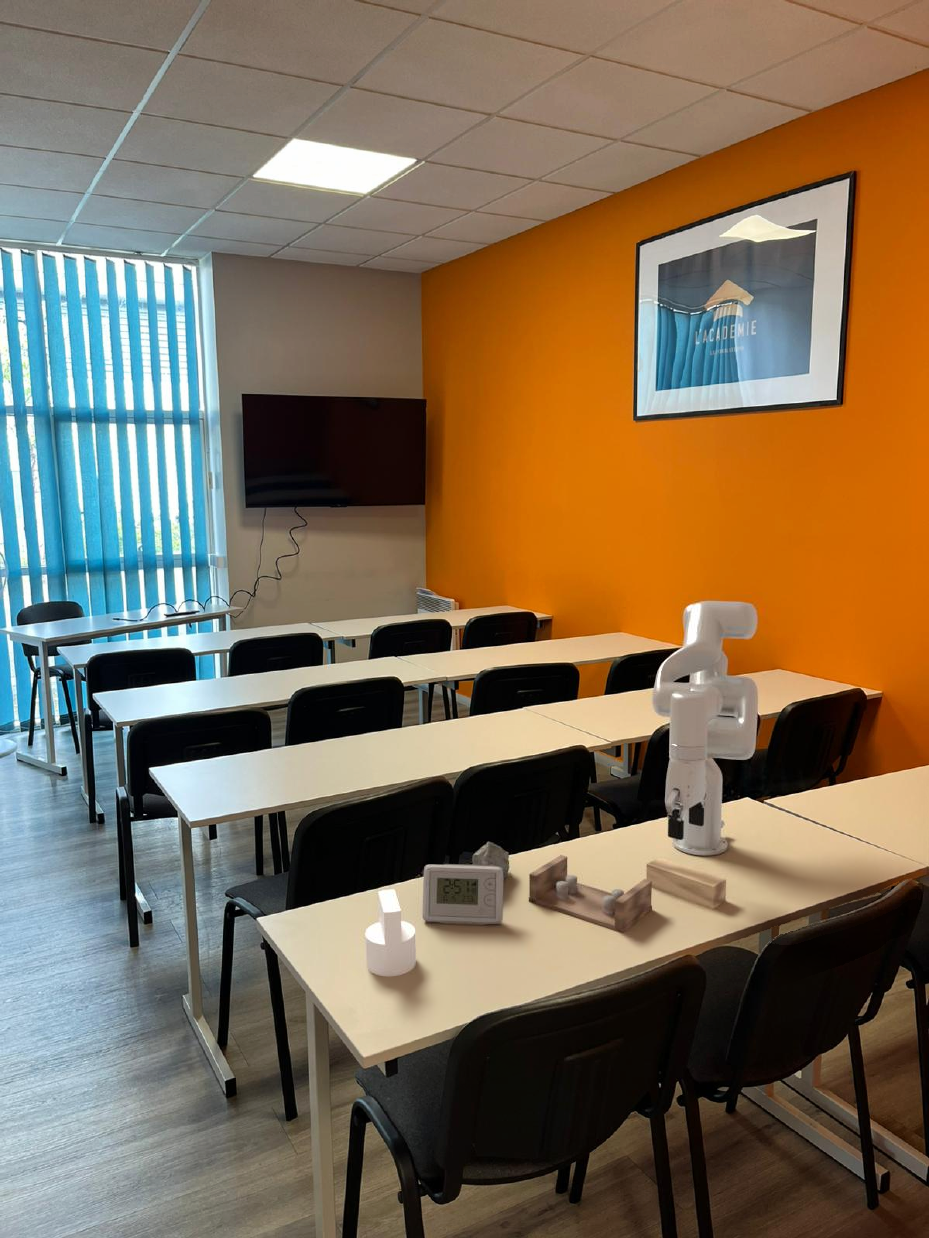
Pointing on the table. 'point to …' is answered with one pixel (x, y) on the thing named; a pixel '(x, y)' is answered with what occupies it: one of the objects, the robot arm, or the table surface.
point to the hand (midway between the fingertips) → (686, 831)
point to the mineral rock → (492, 857)
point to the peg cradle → (588, 897)
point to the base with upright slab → (390, 939)
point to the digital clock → (463, 894)
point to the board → (687, 882)
